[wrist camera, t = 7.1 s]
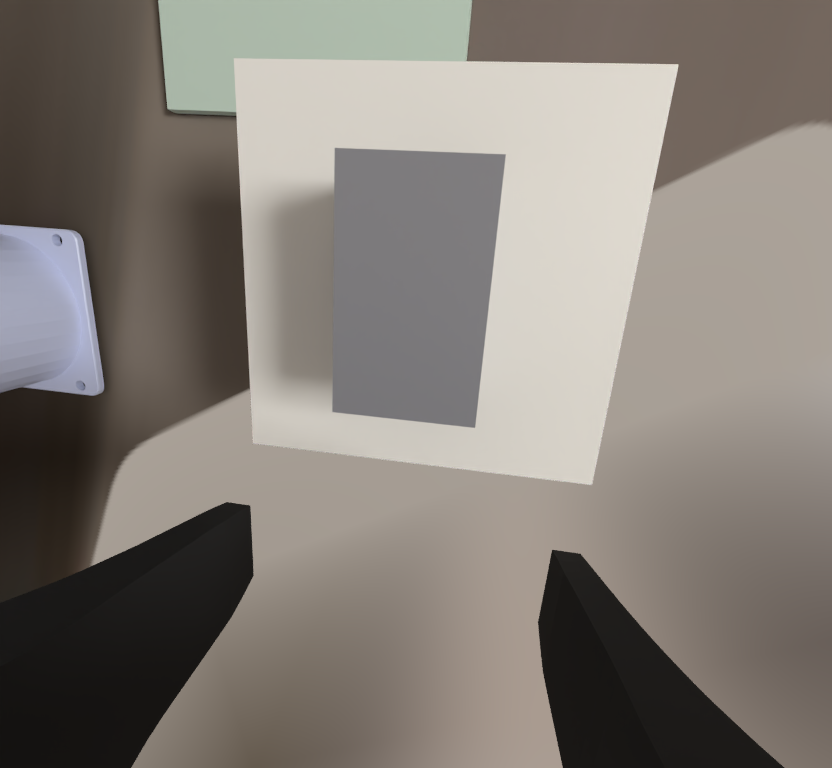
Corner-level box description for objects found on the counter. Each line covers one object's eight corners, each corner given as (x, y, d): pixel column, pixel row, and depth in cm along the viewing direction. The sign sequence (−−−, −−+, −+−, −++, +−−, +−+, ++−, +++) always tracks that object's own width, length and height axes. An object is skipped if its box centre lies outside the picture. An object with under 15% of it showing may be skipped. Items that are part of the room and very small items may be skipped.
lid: (262, 436, 13) (188, 495, 10) (246, 69, 11) (136, -25, 7) (586, 474, 12) (629, 556, 9) (666, 76, 9) (774, -30, 6)
